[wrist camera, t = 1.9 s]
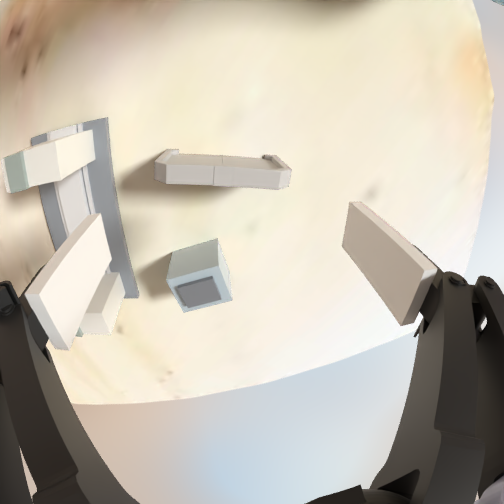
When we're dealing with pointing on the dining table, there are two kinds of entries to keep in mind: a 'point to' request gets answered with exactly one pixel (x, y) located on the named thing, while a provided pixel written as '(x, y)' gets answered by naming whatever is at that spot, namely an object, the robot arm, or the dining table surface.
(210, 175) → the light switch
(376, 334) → the dining table surface
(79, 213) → the rail board
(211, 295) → the relay block
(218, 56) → the dining table surface
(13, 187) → the mounted modules
